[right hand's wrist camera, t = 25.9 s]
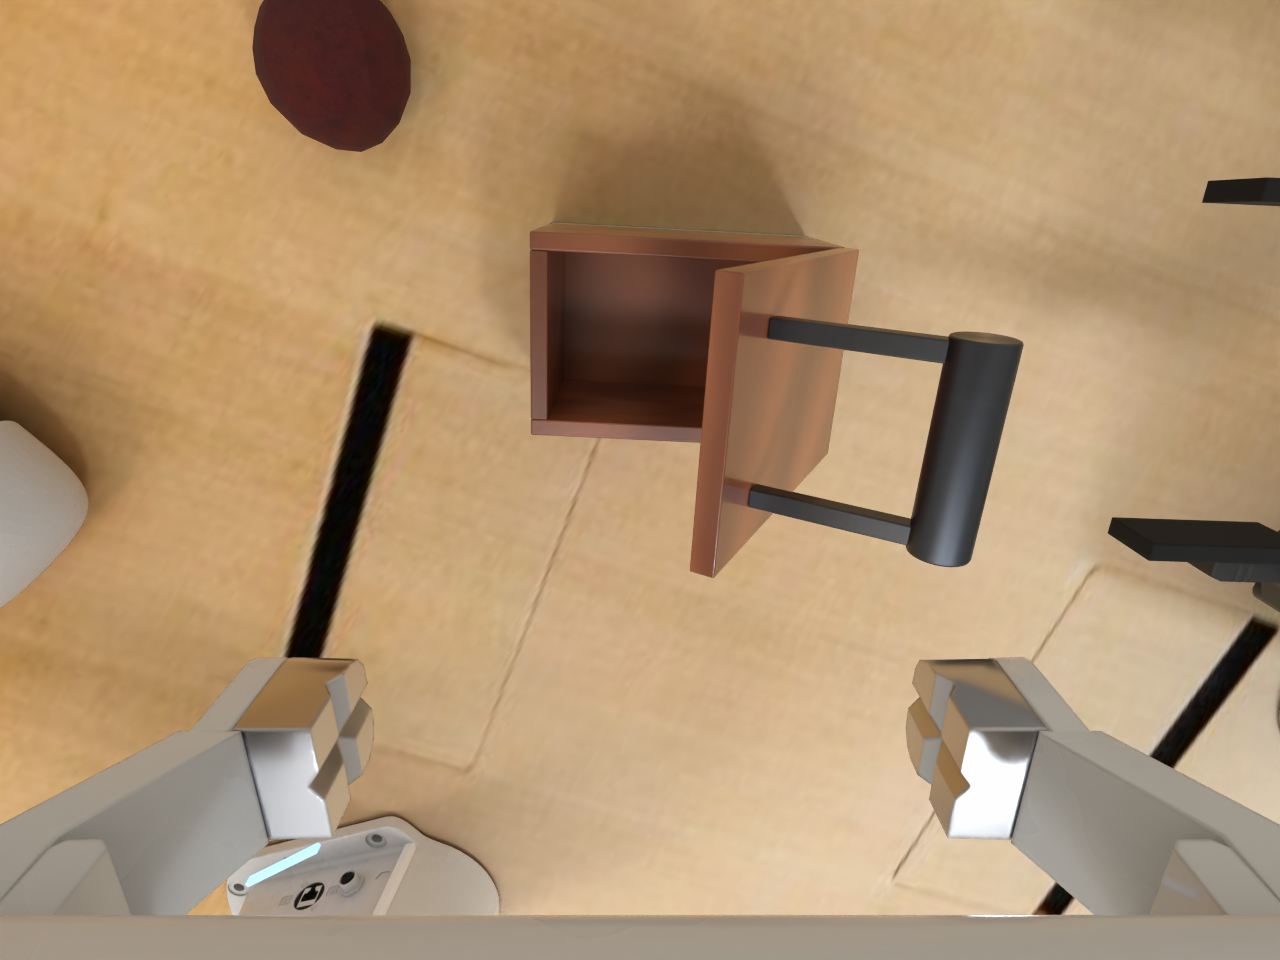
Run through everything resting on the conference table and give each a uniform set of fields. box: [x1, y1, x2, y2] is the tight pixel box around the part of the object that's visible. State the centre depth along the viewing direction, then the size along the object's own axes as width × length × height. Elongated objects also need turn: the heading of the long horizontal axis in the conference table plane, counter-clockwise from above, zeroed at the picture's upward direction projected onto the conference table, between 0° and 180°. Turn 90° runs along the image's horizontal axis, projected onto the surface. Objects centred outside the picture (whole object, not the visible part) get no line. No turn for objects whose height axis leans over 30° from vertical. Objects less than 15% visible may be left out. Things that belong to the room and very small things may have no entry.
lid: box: [690, 248, 1023, 578], centre depth 27 cm, size 15×10×8 cm
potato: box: [253, 0, 410, 152], centre depth 36 cm, size 7×8×7 cm
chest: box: [530, 222, 844, 443], centre depth 40 cm, size 15×10×9 cm
